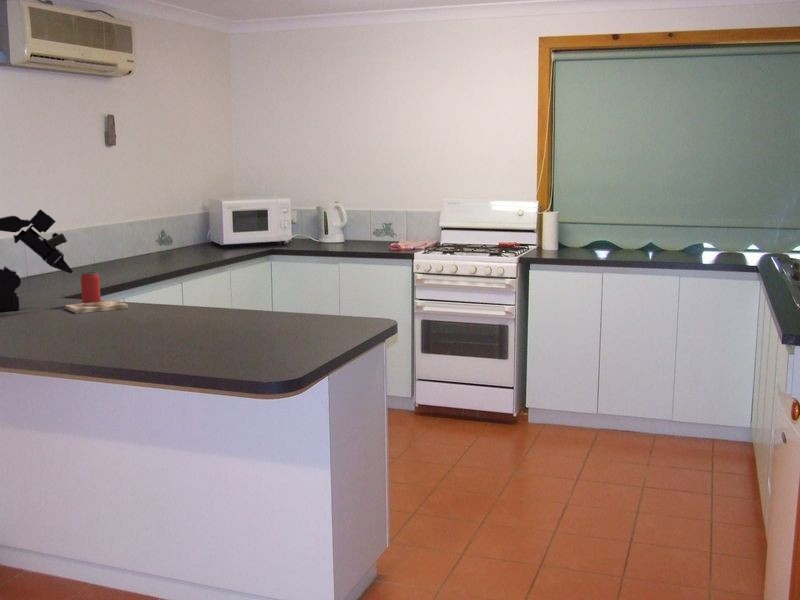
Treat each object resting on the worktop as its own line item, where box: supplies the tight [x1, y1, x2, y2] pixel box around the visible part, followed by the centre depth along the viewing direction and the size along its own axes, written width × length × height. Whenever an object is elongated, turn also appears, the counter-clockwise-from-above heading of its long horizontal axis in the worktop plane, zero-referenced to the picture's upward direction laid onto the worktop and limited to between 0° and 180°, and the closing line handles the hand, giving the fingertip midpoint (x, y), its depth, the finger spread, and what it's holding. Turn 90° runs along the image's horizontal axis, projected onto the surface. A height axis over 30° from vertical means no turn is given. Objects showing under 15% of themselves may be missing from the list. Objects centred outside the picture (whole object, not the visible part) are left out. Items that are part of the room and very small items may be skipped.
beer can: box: [80, 271, 102, 304], centre depth 313 cm, size 7×7×12 cm
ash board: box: [64, 300, 129, 314], centre depth 303 cm, size 18×13×2 cm
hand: (70, 271), depth 309 cm, fingers open, 9 cm apart
